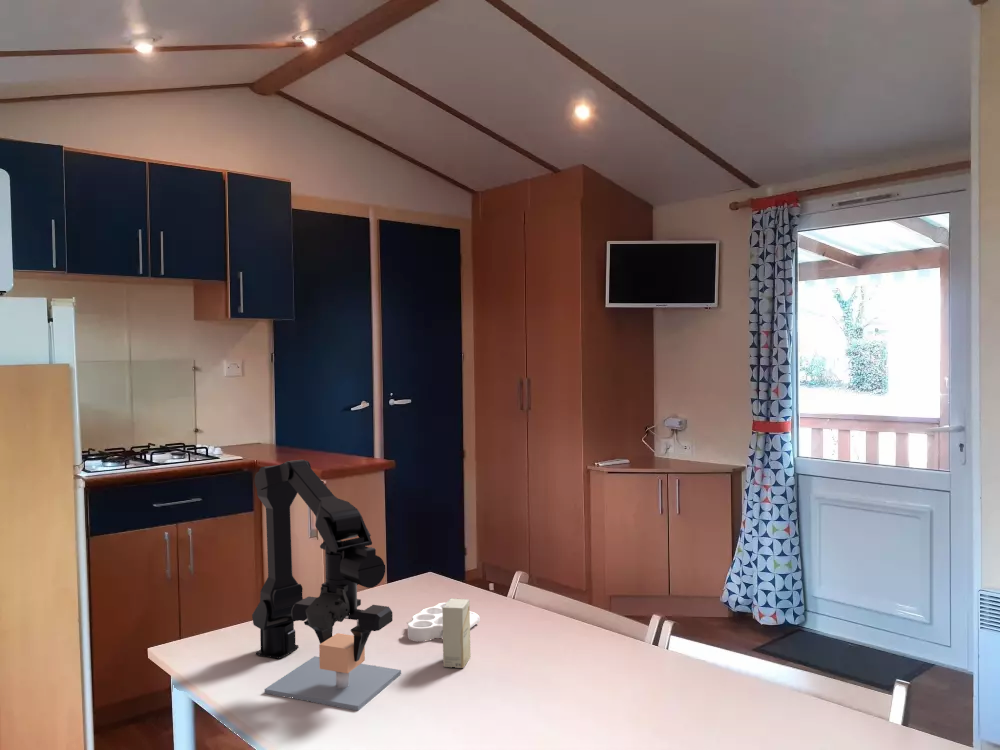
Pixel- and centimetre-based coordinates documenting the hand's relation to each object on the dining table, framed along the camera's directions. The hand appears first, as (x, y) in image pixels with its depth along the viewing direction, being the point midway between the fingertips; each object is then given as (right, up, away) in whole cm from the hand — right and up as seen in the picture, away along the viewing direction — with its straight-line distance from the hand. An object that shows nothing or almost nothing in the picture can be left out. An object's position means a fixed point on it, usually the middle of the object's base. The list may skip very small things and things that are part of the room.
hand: (342, 658), depth 139 cm
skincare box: (+21, -6, +13) cm, 25 cm away
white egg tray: (+16, -6, +32) cm, 36 cm away
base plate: (-2, -6, +3) cm, 7 cm away
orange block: (0, -1, 0) cm, 1 cm away
